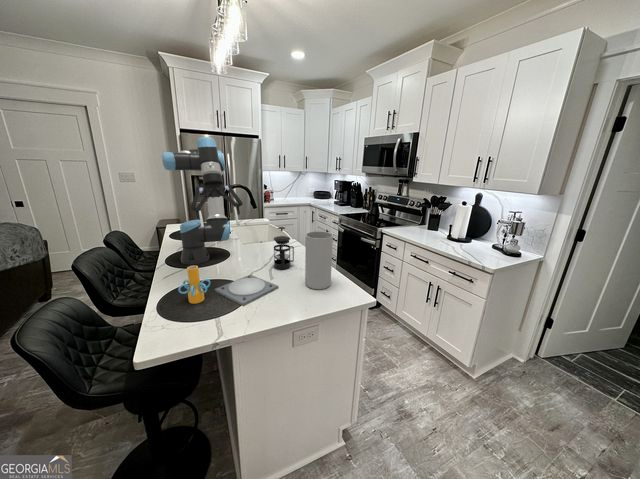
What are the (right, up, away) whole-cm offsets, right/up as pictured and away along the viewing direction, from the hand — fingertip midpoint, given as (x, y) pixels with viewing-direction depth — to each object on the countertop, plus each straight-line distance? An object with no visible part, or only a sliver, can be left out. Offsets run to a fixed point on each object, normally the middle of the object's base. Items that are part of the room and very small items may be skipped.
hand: (220, 225), depth 105 cm
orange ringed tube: (-11, -32, +2) cm, 34 cm away
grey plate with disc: (+8, -29, +12) cm, 32 cm away
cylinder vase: (+40, -28, +19) cm, 53 cm away
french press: (+20, -22, +39) cm, 49 cm away
